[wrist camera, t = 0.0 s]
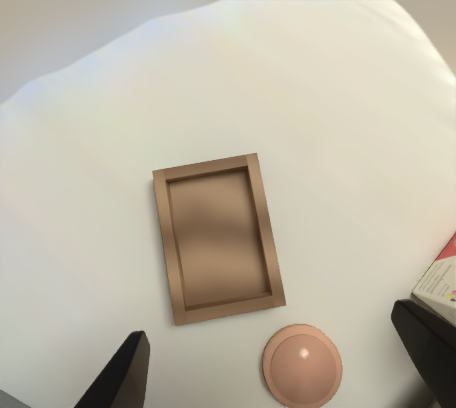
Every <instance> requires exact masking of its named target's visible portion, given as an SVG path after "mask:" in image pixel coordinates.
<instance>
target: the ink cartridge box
mask: <svg viewBox="0 0 456 408" xmlns="http://www.w3.org/2000/svg"><path fill="white" fill-rule="evenodd" d="M412 293H413V294H414V295H415V296H417V297H418V298H419V299H420V300H422V301H423V302H424V303H426V304H427V305H428V306H430V307H431V308H432V309H434V310H435V311H436V312H437V313H439V314H440V315H441V316H442V317H444V318H445V319H446V320H448V321H449V322H450V323H451V324H453V325H455V326H456V234H455V236H454V237H453V238H452V239H451V241H450V242H449V244H448V245H447V246H446V247H445V249H444V250H443V251H442V253H441V254H440V255H439V257H438V258H437V259H436V260H435V262H434V263H433V264H432V266H431V267H430V269H429V270H428V271H427V272H426V274H425V275H424V276H423V278H422V279H421V280H420V282H419V283H418V284H417V286H416V287H415V288H414V290H413V291H412Z"/></svg>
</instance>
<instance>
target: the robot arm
mask: <svg viewBox="0 0 456 408" xmlns="http://www.w3.org/2000/svg"><path fill="white" fill-rule="evenodd" d="M391 320H392V322H393V325H394V326H395V328H396V330H397V332H398V334H399V336H400V338H401V340H402V342H403V344H404V346H405V348H406V350H407V352H408V354H409V355H410V357H411V359H412V361H413V363H414V365H415V367H416V368H417V370H418V372H419V373H420V375H421V377H422V378H423V380H424V381H425V383H426V384H427V386H428V388H429V389H430V391H431V392H432V394H433V396H434V397H435V399H436V400H437V402H438V403H439V405H440V407H441V408H456V327H455V326H453V325H451V324H450V323H448V322H446V321H445V320H443V319H441V318H440V317H438V316H436V315H435V314H433V313H431V312H430V311H428V310H426V309H425V308H423V307H421V306H420V305H418V304H416V303H415V302H413V301H411V300H409V299H403V300H397V301H396V302H395V304H394V307H393V310H392V314H391ZM149 356H150V344H149V342H148V339H147V336H146V334H145V332H144V331H134V332H132V333H131V334H130V335H129V336H128V337H127V339H126V340H125V341H124V343H123V344H122V345H121V347H120V348H119V349H118V350H117V352H116V353H115V354H114V356H113V357H112V358H111V360H110V361H109V362H108V364H107V365H106V366H105V367H104V369H103V370H102V371H101V373H100V374H99V375H98V377H97V378H96V379H95V381H94V382H93V383H92V385H91V386H90V387H89V388H88V390H87V391H86V392H85V394H84V395H83V396H82V398H81V399H80V400H79V402H78V403H77V404H76V405H75V407H74V408H143V405H144V400H145V392H146V383H147V374H148V365H149Z"/></svg>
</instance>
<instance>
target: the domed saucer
mask: <svg viewBox="0 0 456 408" xmlns="http://www.w3.org/2000/svg"><path fill="white" fill-rule="evenodd" d="M263 370H264V375H265V379H266V382H267V385H268V387H269V389H270V391H271V392H272V394H273V395H274V396H275V397H276V398H277V399H278V400H279V401H280V402H281V403H282V404H284V405H286V406H288V407H290V408H319V407H321V406H323V405H324V404H326V403H327V402H328V401H329V400H331V398H332V397H333V396H334V395H335V393H336V392H337V390H338V388H339V386H340V383H341V379H342V362H341V358H340V354H339V352H338V350H337V348H336V347H335V345H334V344H333V342H332V341H331V340H330V339H329V338H328V337H327V336H326V335H325V334H324V333H323V332H322V331H320V330H319V329H317V328H315V327H313V326H310V325H305V324H294V325H289V326H286V327H284V328H282V329H281V330H279V331H278V332H277V333H275V334H274V335H273V336H272V338H271V339H270V340H269V342H268V344H267V346H266V348H265V351H264V355H263Z"/></svg>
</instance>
